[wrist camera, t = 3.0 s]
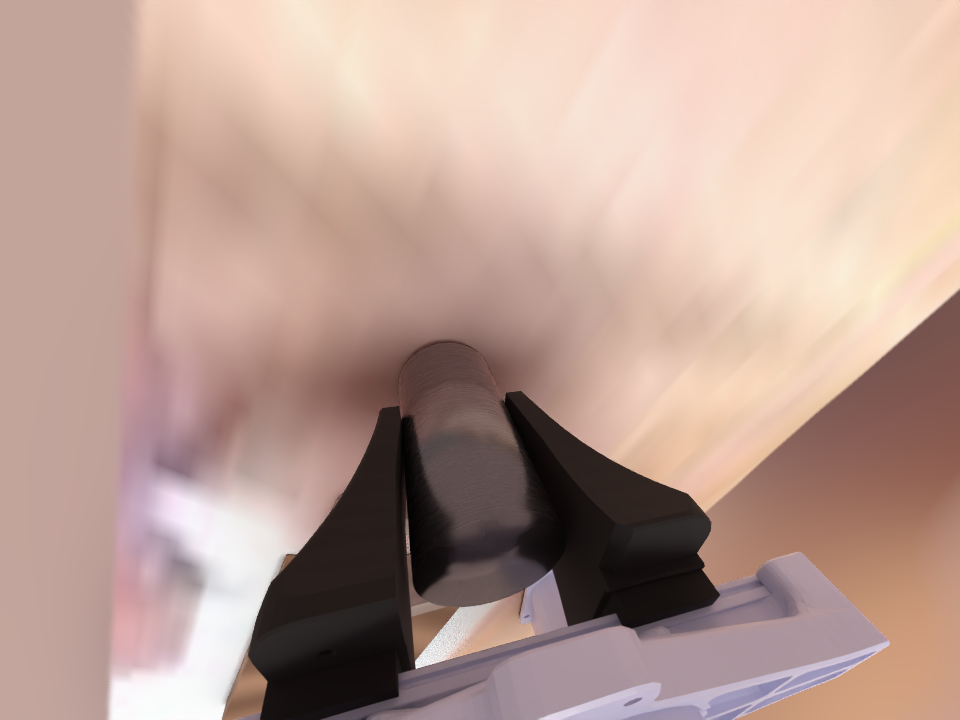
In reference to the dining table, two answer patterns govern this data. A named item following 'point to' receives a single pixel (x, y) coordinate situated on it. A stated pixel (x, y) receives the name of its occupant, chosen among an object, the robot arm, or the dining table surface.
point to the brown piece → (253, 685)
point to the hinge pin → (470, 484)
